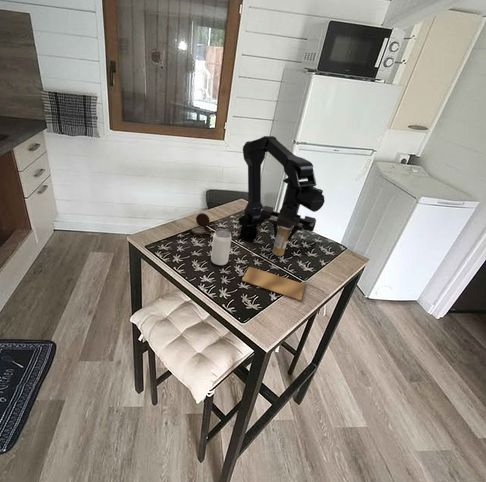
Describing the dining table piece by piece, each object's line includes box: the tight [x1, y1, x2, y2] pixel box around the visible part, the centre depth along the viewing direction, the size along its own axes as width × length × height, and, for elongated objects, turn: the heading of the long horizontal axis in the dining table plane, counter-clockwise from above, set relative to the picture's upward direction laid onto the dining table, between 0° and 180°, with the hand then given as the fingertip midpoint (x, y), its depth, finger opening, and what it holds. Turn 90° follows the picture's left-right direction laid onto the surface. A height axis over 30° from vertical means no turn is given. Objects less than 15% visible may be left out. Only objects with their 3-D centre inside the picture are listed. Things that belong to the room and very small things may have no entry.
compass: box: [190, 212, 210, 236], centre depth 119 cm, size 8×8×7 cm
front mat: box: [241, 266, 306, 302], centre depth 96 cm, size 20×9×1 cm, turn 67°
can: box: [210, 228, 233, 266], centre depth 101 cm, size 6×6×12 cm
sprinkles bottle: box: [271, 226, 293, 257], centre depth 102 cm, size 5×5×14 cm
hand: (281, 238), depth 102 cm, fingers closed on sprinkles bottle, 4 cm apart
